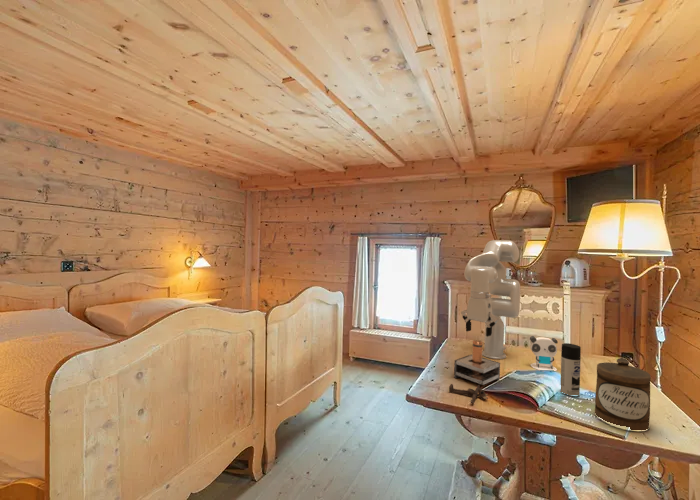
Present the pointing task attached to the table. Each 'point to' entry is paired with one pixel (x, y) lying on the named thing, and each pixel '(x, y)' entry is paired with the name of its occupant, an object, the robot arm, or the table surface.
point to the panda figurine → (543, 352)
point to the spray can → (570, 369)
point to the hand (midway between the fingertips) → (478, 333)
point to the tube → (477, 355)
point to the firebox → (487, 369)
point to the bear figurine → (470, 392)
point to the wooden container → (623, 394)
